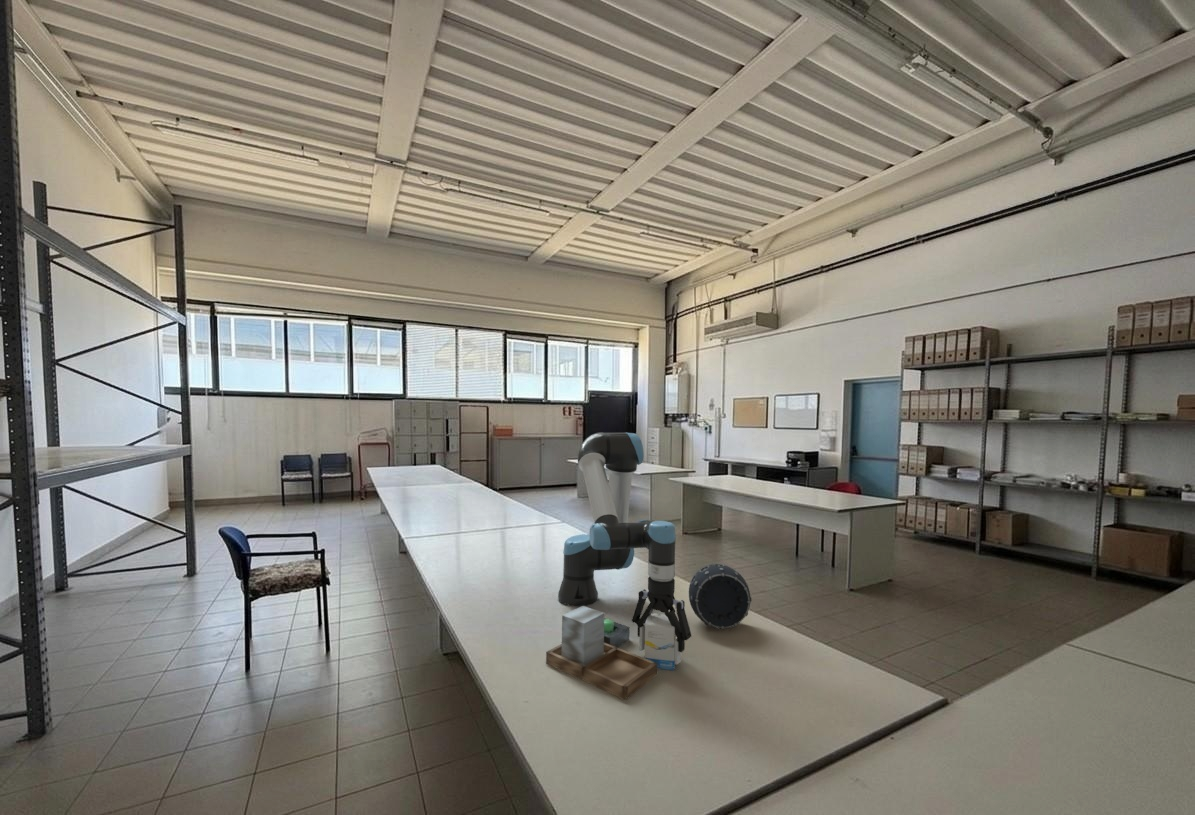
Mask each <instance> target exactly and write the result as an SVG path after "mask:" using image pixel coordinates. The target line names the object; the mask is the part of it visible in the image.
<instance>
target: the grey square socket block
mask: <svg viewBox="0 0 1195 815" xmlns="http://www.w3.org/2000/svg"><path fill="white" fill-rule="evenodd" d="M604 619H606V618H605V617H604ZM612 621H613V622H614V630H613V631H611V632H609V633H608V632H605V631H604V643H607V644H609V645H612V646H615V647H617V648H619V647H622V645H624V644H626V643H627V642H629V641H630V632H631V631H630V630H631V628H630V626H628V625H625V624H622V623H620V622H617V621H614V620H612Z"/></svg>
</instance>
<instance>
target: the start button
mask: <svg viewBox="0 0 1195 815" xmlns="http://www.w3.org/2000/svg"><path fill="white" fill-rule="evenodd" d="M613 621H614V620H612V619H608V618H605V619H604V631H605V632H608V633H609V632H611V631H613V630H614V622H615V621H614V622H613Z"/></svg>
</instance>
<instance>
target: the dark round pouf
mask: <svg viewBox="0 0 1195 815" xmlns="http://www.w3.org/2000/svg"><path fill="white" fill-rule="evenodd" d="M688 600H689V604H690V606H691V609H692V611H693V612H694V614H695V615H696V616H697V618H698V619H699V620H700V621H702V623H704V626H709V627H712V628H716V629H719V630H723V629H729V628H733V627H737V626H738V625H739V624H740V623H741V622H742V621H743V620H744V619H745V618H746V617H747V616H748V615H749V610H750V606H751V604H752V600H753V599H752V596H751V591H750V588H749V584H748V582H747V581H746V580H745V579H744V577H743V575H742V574H740V573H739V572H738V571H737V570H736V569H734V568H732V567H730V566H729V565H726V564H721V563H712V564H708V565H705V566H703V567H701V568H700V569H699V570H697V571H696V573H695V574H694V575H693V576H692V578H691V580H690V583H689V587H688Z"/></svg>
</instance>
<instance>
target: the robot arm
mask: <svg viewBox="0 0 1195 815" xmlns="http://www.w3.org/2000/svg"><path fill="white" fill-rule="evenodd" d="M644 455H645V454H644V446H643V443H642V439H641V437H640V436H639V434H637V433H633V432H626V431H625V432H596V433H593V434H590V435H589V436H588V437H586V438H585V439H584V441H583V442H582V443H581V445H580V447H579V448H578V453H577V464H578V468H579V470H580V471H581V472H582V474H583V478H584V483H585V487H586V492H587V496H588V500H589V506H590V510H591V515H592V519H593V524H591V525H590V527H589V532H588V534H585V533H584V534H575V535H573V536H570V537H567V539H566V540H565V541H564V542H563V543H564V544H563V552H562V553H563V574H562V576H563V577H562V581H561V584H560V587H559V590H558V592H557V594H558V596H557V598H558V599H557V600H558V601H559V602H560V603H561V604H563V605H565V606H566V605H567V606H573V607H581V606H585V607H587V606H590V605H593V604H595V603H596V602H598V600H599V591H598V590H597V585H596V582H595V578H594V577H595V571H607V570H617V571H619V570H621V569H628V568H629V567H630V566H631V565H632V564H633V561H634V557H635V549H644V548H645V549H647V550H648V561H647V562H648V566H647V567H648V568H647V570H648V572H647V573H648V578H647V589H648V591H647V590H646V589H642V590H640V591H638V599H637V602H636V606H635V609H634V610H633V611H634V613H633V615H632V619H631V622H632V623H634V624H635V625H636V626H637V637H638V638H639V652H640V651H641V652H643V651H645V622H646V619H647V616H649V615H651V613H652V614H653V611H659V612H660V613H662V614H664V615H666V616H667V617H668V619H669V621H670V624H671V626H673V627H675V634H676V639H675V660H674V664H675V666H676V665H678V664H680V663H681V662H682V659H683V658H682V656H683V654H682V653H683V652H684V651H685V645H686V644H685V642H686V641H688V640H689V639H690V638H691V637H692V632H691V629H690V625H689V621H688V618H687V613H686V610H685V608H686V607H685V601H684V600H683V599H682V600H677V599H676V597H675V589H676V588H675V587H676V586H675V584H676V583H675V582H676V581H675V577H676V563H675V562H676V538H677V534H676V526H675V524H674V523H673V522H670V521H667V520H654V521H652V520H651V519H650V520H649V519H641V520H638V521H636V522H629V511H630V503H631V502H630V498H631V489H632V480H633V479H632V478H633V474H634V473H635V472H637V470H638V468H637V467H638V465H641V464H643V461H644ZM606 470H607V471H608V476H607V472H606ZM647 599H648V601H649V604H648V605H647V606H646V609H645V611H644V612H643V610H644V607H645V604H646V600H647ZM675 609H676V610H675ZM642 613H643V614H642Z"/></svg>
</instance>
